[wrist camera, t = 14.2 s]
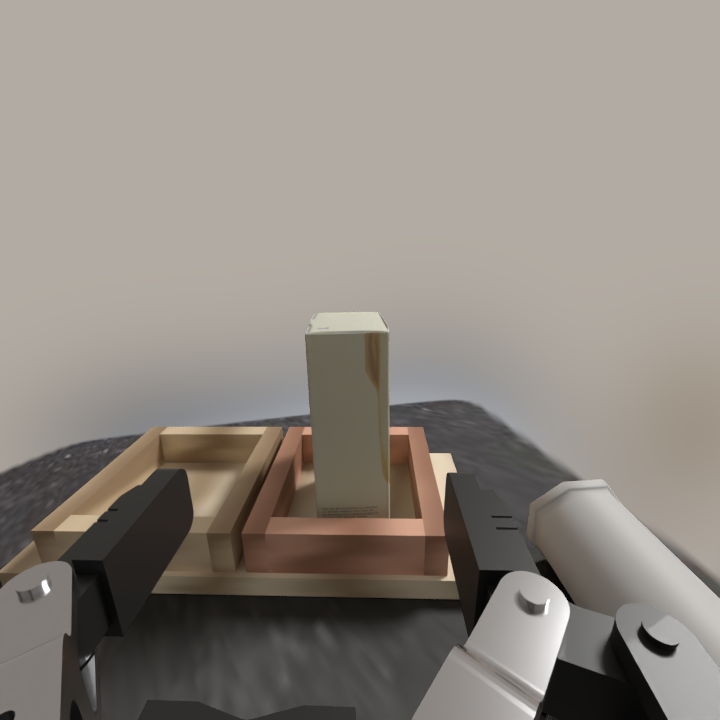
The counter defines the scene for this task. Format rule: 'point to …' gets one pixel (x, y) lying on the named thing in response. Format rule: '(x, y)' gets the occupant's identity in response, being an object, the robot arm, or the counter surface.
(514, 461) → the counter surface
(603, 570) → the tube
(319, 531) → the two-compartment wooden tray
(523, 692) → the robot arm
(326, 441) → the skincare box
